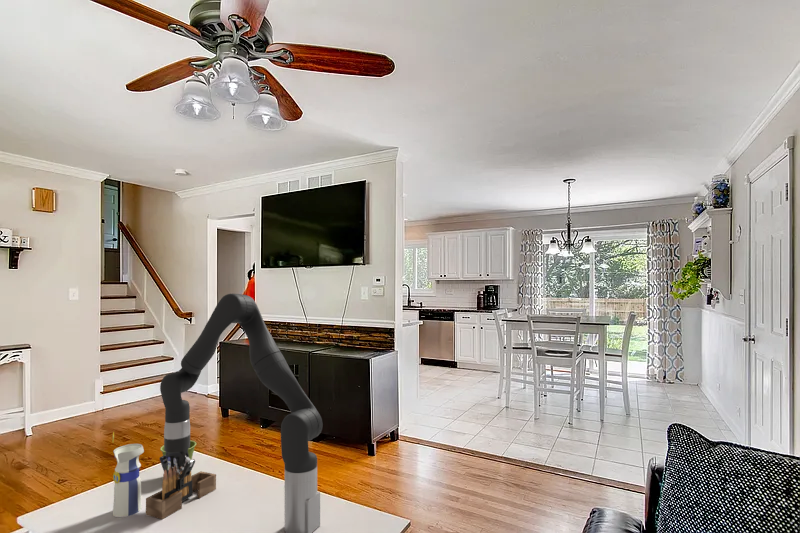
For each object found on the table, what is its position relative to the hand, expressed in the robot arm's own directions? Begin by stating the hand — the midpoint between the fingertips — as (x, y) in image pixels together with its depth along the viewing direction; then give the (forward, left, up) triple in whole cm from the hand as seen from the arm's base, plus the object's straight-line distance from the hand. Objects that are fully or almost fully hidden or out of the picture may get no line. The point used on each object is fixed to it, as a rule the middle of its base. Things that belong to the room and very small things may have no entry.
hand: (176, 489), depth 141 cm
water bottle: (+11, +9, -5) cm, 15 cm away
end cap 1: (0, +5, -5) cm, 7 cm away
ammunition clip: (0, 0, -4) cm, 4 cm away
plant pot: (+17, -15, -5) cm, 24 cm away
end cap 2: (0, -10, -5) cm, 11 cm away
